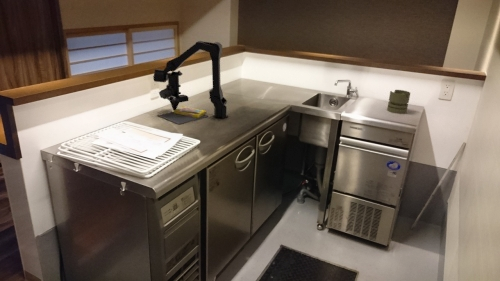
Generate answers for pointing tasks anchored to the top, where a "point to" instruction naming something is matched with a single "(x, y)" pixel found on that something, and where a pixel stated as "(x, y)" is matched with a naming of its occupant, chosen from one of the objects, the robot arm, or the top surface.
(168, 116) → the mat
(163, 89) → the robot arm
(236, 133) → the top surface
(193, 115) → the candy box
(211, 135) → the top surface
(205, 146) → the top surface
